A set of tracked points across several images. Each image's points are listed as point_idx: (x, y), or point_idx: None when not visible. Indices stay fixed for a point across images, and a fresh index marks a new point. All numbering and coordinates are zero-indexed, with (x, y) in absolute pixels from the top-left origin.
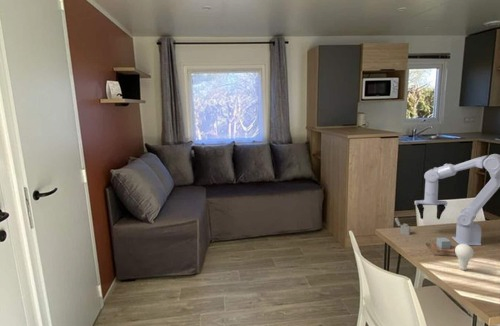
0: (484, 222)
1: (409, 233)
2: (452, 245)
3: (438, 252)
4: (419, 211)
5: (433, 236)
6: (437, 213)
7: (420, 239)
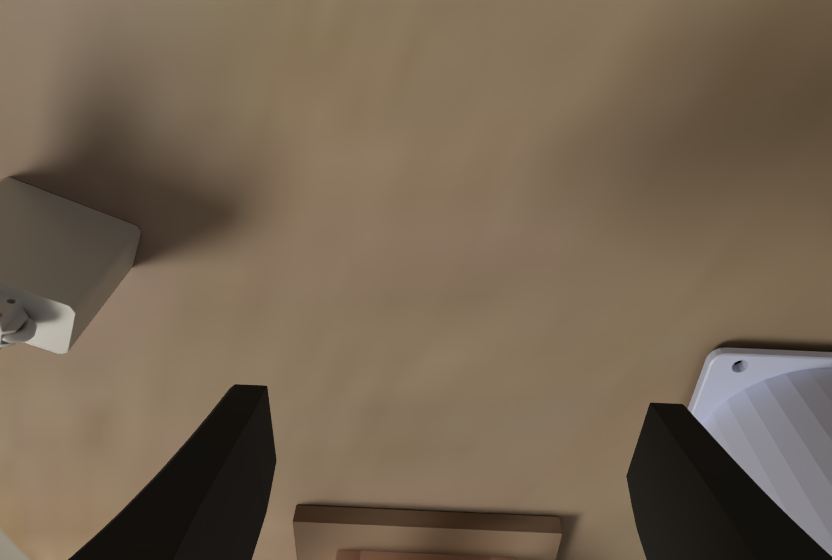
0: None
1: (137, 239)
2: (551, 551)
3: None
4: (131, 531)
5: (476, 305)
6: (701, 536)
7: None
